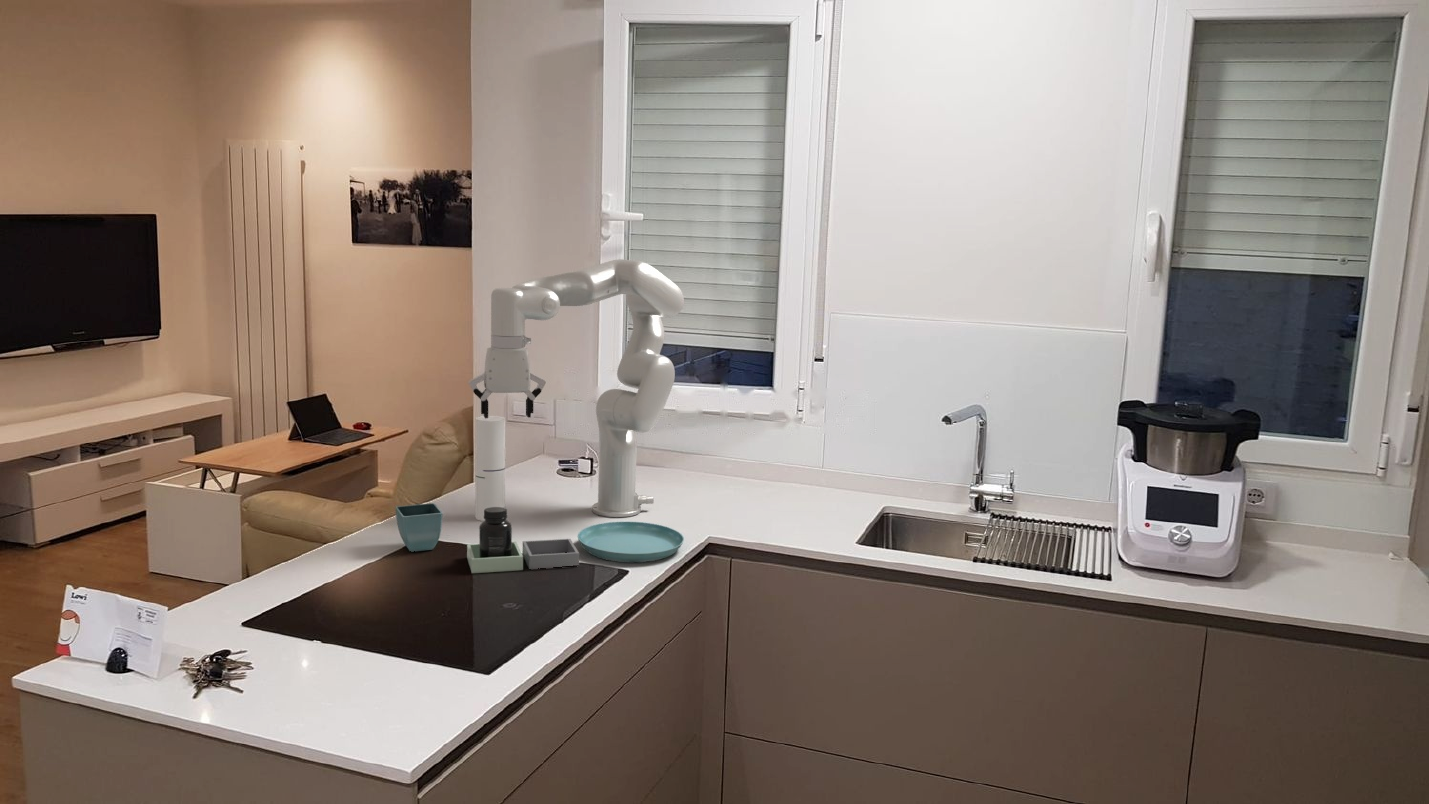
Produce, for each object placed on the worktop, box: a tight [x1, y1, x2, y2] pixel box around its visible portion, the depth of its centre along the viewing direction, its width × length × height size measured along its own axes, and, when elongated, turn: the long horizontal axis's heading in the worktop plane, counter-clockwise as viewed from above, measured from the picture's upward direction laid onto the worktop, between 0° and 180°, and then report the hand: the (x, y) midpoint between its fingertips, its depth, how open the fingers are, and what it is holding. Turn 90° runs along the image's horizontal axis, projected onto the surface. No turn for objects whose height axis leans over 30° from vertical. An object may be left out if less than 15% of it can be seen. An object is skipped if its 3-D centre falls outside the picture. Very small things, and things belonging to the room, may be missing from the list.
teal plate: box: [577, 521, 685, 563], centre depth 240 cm, size 24×24×3 cm
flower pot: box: [394, 502, 444, 553], centre depth 234 cm, size 9×9×9 cm
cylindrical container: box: [474, 415, 506, 522], centre depth 259 cm, size 7×7×25 cm
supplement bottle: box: [478, 507, 513, 558], centre depth 226 cm, size 7×7×12 cm
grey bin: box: [522, 538, 580, 570], centre depth 230 cm, size 11×11×3 cm
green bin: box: [466, 541, 524, 574], centre depth 226 cm, size 11×11×3 cm
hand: (507, 416), depth 242 cm, fingers open, 9 cm apart
